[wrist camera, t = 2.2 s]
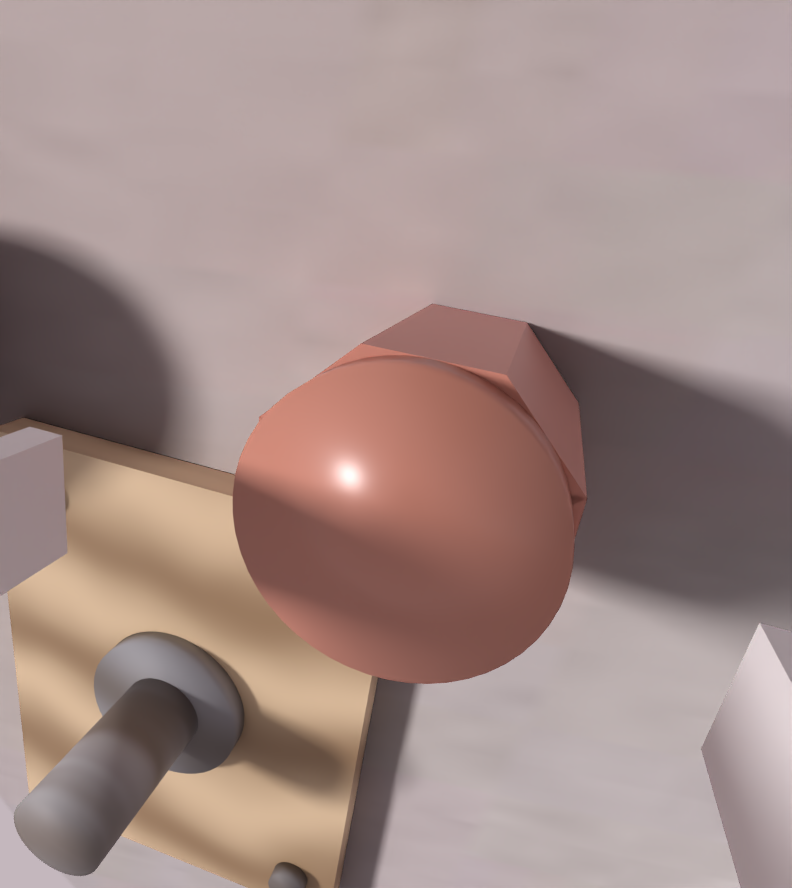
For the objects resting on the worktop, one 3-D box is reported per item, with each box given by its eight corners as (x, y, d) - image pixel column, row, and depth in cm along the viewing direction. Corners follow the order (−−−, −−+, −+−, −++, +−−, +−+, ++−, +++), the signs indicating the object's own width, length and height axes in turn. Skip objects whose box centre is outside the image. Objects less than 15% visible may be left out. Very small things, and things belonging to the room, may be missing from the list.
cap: (368, 291, 18) (242, 330, 11) (597, 336, 17) (622, 414, 10) (341, 490, 21) (224, 628, 14) (538, 543, 20) (524, 725, 13)
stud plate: (23, 417, 24) (-208, 497, 17) (406, 521, 21) (325, 671, 14) (52, 773, 31) (-98, 933, 24) (339, 887, 28) (263, 1107, 21)
